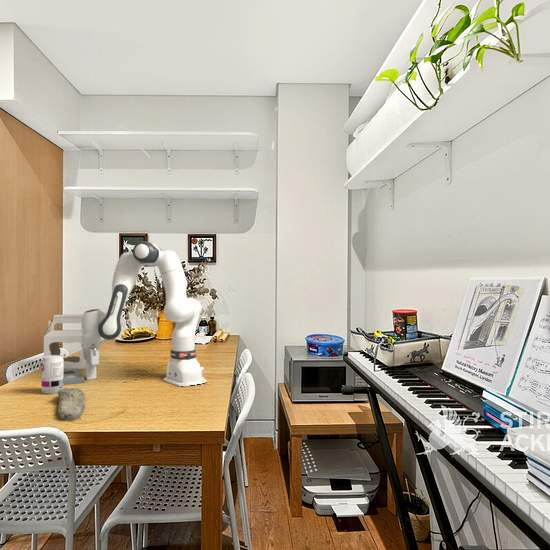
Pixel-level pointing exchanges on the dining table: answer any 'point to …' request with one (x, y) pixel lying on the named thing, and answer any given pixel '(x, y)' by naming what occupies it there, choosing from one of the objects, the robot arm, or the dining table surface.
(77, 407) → the elongated rock
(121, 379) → the dining table surface
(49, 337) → the gable box
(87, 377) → the block
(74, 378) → the power board
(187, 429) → the dining table surface
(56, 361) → the supplement can
